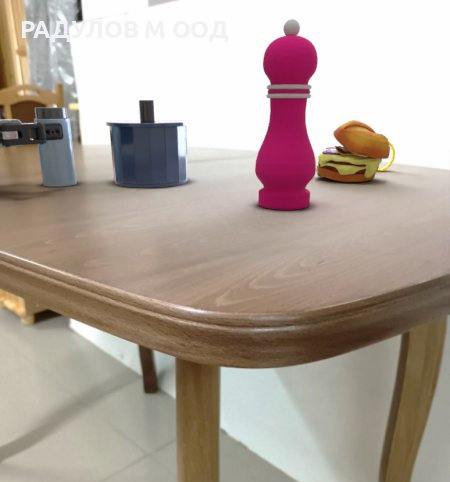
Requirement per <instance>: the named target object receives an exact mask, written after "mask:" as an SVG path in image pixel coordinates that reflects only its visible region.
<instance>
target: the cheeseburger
mask: <svg viewBox="0 0 450 482" xmlns="http://www.w3.org/2000/svg"><path fill="white" fill-rule="evenodd" d="M332 133H333V137H334V138H335V140H336V142H338V143H339V144H340V145H338V146H336V145H334V146H330V147H326V148H325V149H326V150H323V151H322V152H320V153H319V154H318V156H317V159H318V160H317V164H316V174H317V177H320V178H322V177H323V178H326V179H329V180H331V181H335V182H341V183H361V182H369V181H372V180H373V179H374V178H375V176H376V173H377V172H378V171H377V170H378V168H379V167H380V165H381V163H382V162H383V160H386V159H387V160H388V159H389V157H390V153H391V147H390V145H389V142H390V141H389V138H388V139H387V138H386V137H387V136H386V135H384V134H382V133H378V132H376V131H375V130H374V129H373V128H372V127H371V126H370V125H368V124H367V123H364V122H363V121H359V120H356V119H353V120H348V121H346V122H344V123H342V124H341V125H339V126H338V127H337V128H336V129H334V131H333V132H332ZM388 141H389V142H388ZM331 149H332V150H331Z"/></svg>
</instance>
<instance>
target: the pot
mask: <svg viewBox="0 0 450 482" xmlns="http://www.w3.org/2000/svg"><path fill="white" fill-rule="evenodd" d="M108 127H109V138H110V150H111V161H112V171H113V172H112V173H113V174H112V175H113V180H114V184H115V185H117V186H120V187H126V188H137V189H138V188H139V189H149V188H150V189H156V188H169V187H170V188H171V187H175V186H181V185H185V184H187V183H188V180H189V179H188V178H189V166H188V165H189V164H188V131H187V127H188V125H187V126H172V127H115V126H108Z"/></svg>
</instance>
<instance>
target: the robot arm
mask: <svg viewBox="0 0 450 482" xmlns="http://www.w3.org/2000/svg"><path fill="white" fill-rule="evenodd" d="M62 139H63V128H62V124H61V123H41V122H34V121H32V122H25V121H22V120H20V119H18V118H5V119H4V118H3V119H2V118H1V119H0V149H2V148H21V147H24V145H25V146H27V145H37V144H44V143H46V141H50V140H62Z"/></svg>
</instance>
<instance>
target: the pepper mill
mask: <svg viewBox="0 0 450 482" xmlns="http://www.w3.org/2000/svg"><path fill="white" fill-rule="evenodd" d="M282 30H283V33H284V35H282V36H280V37H277V38H275V39H274V40H272V41H271V42H270V43H269V44H268V45H267V47H266V49H265V51H264V54H263V59H262V69H263V72H264V74H265V76H266V77H267V78H268V81H269V83H270V84H268V85H267V86H266V89H267V94H266V98H267V99H269V119H268V126H267V130H266V133H265V135H264V138H263V141H262V143H261V144H260V147H259V150H258V152H257V156H256V158H255V167H254V171H255V175H256V178H257V180H259V182H260V183H261V184H262V187H261V188H260V189H259V190H258V199H257V204H258V206H260V207H261V208H265V209H269V210H279V211H291V210H292V211H295V210H302V209H306V208H308V207H309V206H310V201H311V191H310V190H309V189H308V188H307V186H308V185H309V183H310V182H311V181H312V180H313V178H314V177H315V176H316V174H317V171H316V167H317V161H316V157H315V151H314V149H313V146H312V143H311V140H310V138H309V137H310V136H309V133H308V128H307V122H306V121H307V120H306V117H307V115H306V114H307V113H306V112H307V105H308V104H307V103H308V99H310V98H312V94H311V89H312V85H311V84H309V82H310V81H311V78H312V77H313V76H314V75H315V73H316V72H317V68H318V59H319V58H318V53H317V50H316V47H315V45H314V44H313V42H311V41H310V40H309V39H308V38H306V37H303V36H300V35H299V33H300V31H301V25H300V23H299V21H298V20H296V19H294V18H290V19H288V20H287V21H285V23H284V24H283V29H282Z"/></svg>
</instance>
